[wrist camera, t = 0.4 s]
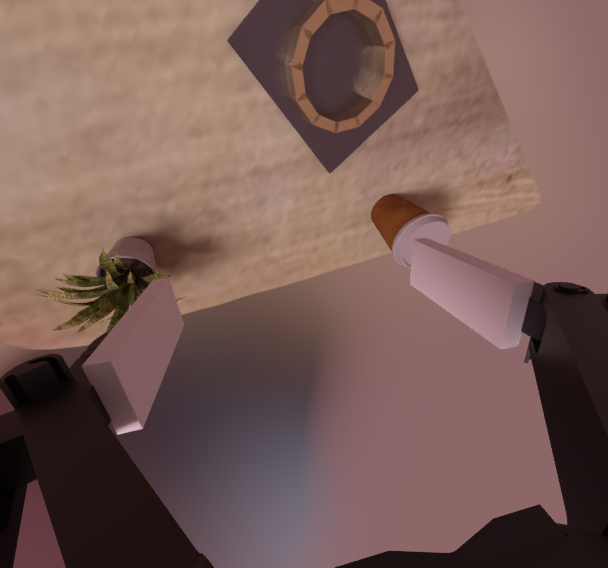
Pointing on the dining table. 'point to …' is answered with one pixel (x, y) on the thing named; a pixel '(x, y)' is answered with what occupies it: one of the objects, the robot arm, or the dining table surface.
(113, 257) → the house plant
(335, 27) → the collar stand
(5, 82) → the dining table surface
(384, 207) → the disposable coffee cup
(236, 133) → the dining table surface
